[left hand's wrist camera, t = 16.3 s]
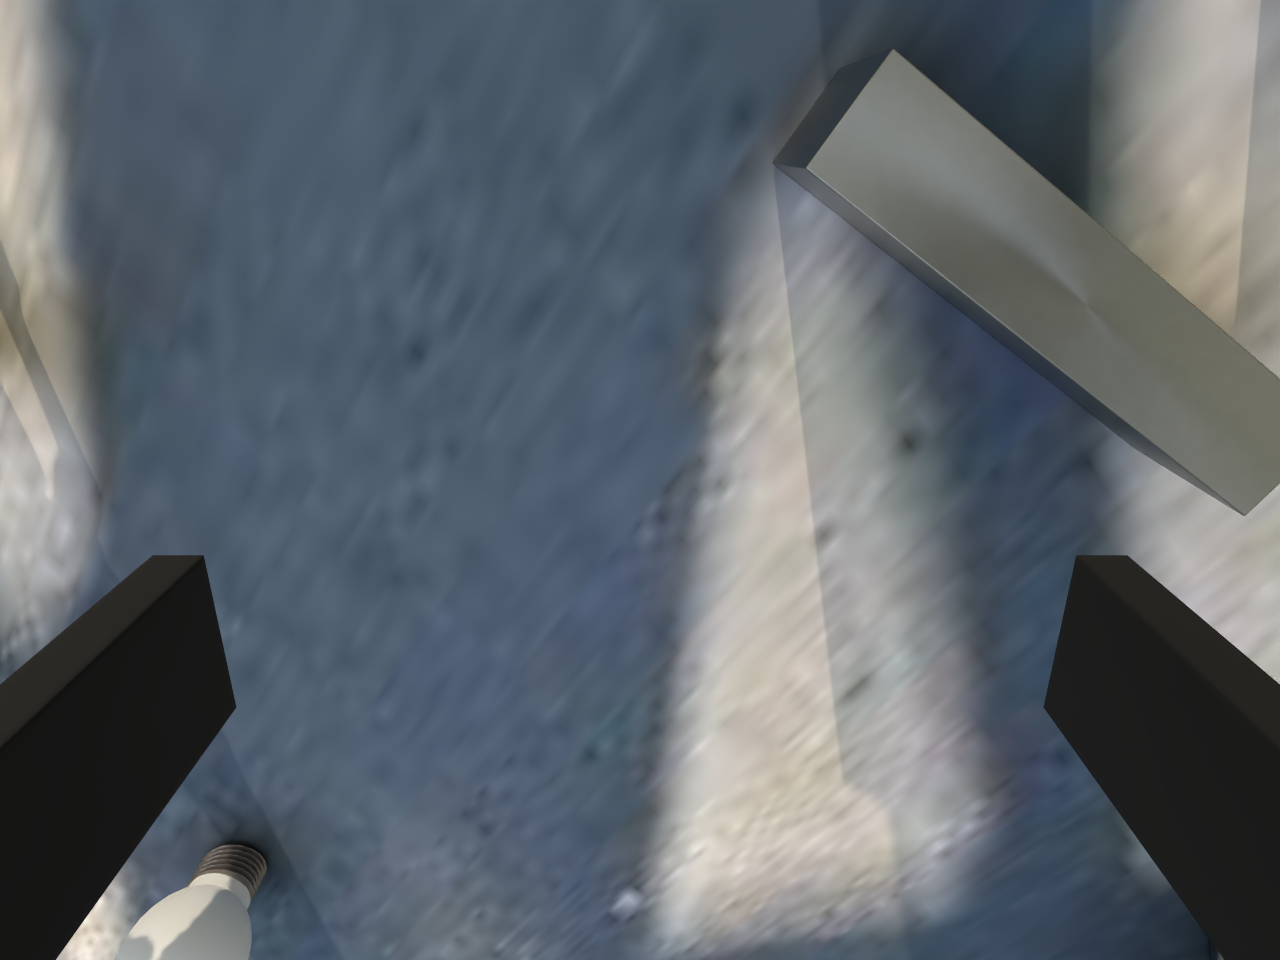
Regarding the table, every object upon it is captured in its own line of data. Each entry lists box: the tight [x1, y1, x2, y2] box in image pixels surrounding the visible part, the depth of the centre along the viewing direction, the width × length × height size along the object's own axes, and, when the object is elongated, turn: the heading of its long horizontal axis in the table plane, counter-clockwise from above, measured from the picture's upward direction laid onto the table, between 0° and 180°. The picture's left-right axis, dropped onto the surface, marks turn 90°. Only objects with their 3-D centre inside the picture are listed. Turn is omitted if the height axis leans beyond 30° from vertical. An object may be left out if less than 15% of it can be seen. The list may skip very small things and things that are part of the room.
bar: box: [773, 49, 1280, 516], centre depth 36 cm, size 24×5×8 cm, turn 55°
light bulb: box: [115, 845, 267, 960], centre depth 49 cm, size 7×7×11 cm
